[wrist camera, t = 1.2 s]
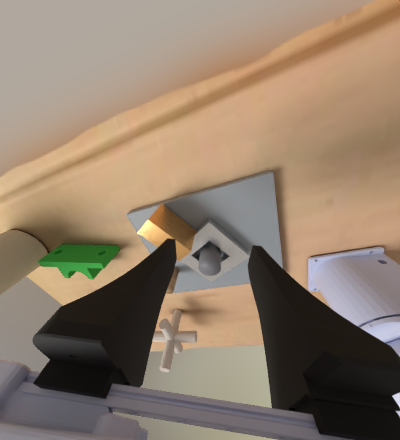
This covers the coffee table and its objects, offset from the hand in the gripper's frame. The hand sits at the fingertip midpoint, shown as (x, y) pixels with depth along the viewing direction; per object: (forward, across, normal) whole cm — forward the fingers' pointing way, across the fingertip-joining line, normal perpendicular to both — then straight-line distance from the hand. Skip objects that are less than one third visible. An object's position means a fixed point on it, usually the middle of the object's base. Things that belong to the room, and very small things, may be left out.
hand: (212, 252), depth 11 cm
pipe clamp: (+11, +22, +12) cm, 27 cm away
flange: (+9, +2, +6) cm, 11 cm away
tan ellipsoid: (+9, +6, +13) cm, 17 cm away
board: (+10, 0, +8) cm, 13 cm away
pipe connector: (+11, +6, +28) cm, 31 cm away
